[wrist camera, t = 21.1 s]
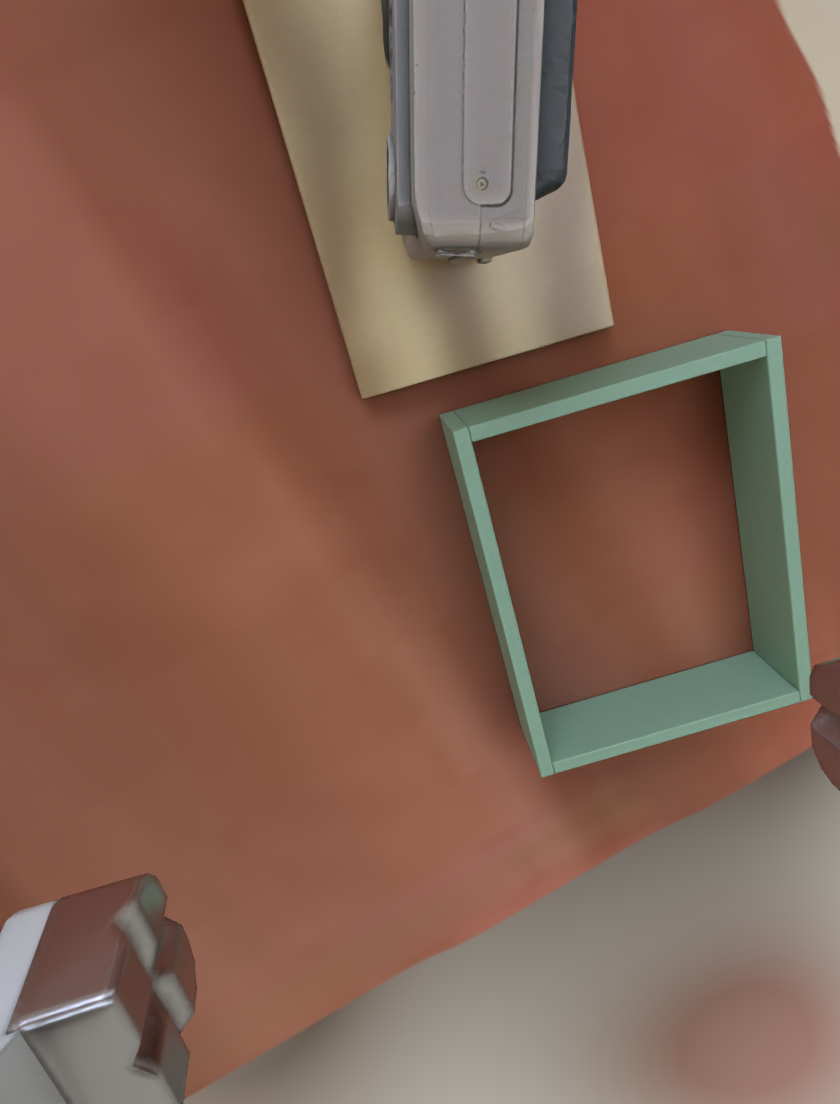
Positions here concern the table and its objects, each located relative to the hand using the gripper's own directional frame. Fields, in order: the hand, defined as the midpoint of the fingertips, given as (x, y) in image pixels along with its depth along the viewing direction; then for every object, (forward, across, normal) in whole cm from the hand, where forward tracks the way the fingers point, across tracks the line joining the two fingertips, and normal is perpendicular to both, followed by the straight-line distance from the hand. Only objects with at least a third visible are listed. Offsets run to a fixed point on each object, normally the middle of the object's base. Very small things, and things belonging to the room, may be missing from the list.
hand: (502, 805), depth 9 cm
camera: (+27, +7, +11) cm, 30 cm away
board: (+28, +7, +11) cm, 30 cm away
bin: (+27, +12, -10) cm, 31 cm away
